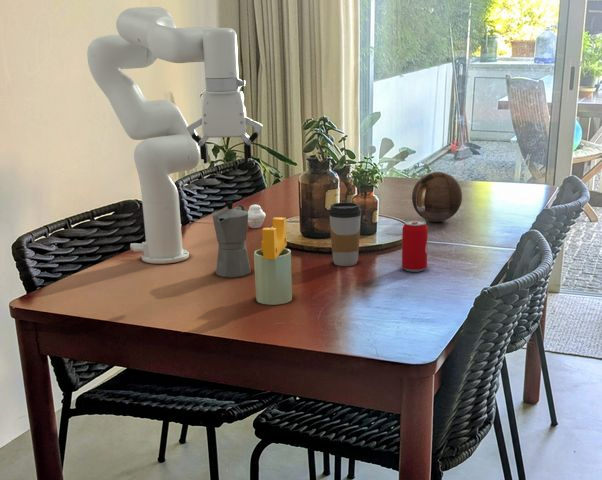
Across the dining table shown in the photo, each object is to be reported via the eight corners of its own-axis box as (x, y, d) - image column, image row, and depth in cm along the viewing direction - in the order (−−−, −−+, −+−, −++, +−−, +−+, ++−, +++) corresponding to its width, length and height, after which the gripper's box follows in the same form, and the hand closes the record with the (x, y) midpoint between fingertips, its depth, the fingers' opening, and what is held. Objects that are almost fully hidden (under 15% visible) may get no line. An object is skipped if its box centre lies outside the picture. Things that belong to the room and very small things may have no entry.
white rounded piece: (242, 228, 261) (241, 205, 258) (251, 224, 266) (249, 201, 264) (261, 229, 259) (260, 206, 256) (269, 225, 264) (268, 202, 261)
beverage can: (429, 266, 217) (430, 219, 213) (424, 273, 212) (425, 225, 208) (404, 265, 219) (405, 218, 215) (399, 271, 214) (399, 224, 210)
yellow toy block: (268, 244, 198) (267, 217, 196) (286, 245, 197) (285, 217, 195) (255, 258, 187) (254, 229, 185) (274, 259, 186) (273, 230, 184)
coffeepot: (241, 281, 210) (237, 207, 203) (205, 278, 212) (200, 206, 206) (263, 264, 223) (260, 195, 217) (229, 262, 226) (225, 193, 220)
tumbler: (254, 305, 192) (252, 257, 188) (257, 293, 200) (255, 247, 196) (291, 304, 192) (290, 256, 188) (292, 293, 200) (291, 247, 196)
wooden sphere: (446, 214, 273) (448, 166, 267) (470, 224, 259) (472, 173, 254) (403, 218, 268) (404, 170, 263) (424, 228, 255) (426, 177, 250)
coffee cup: (327, 259, 226) (326, 202, 221) (359, 258, 227) (359, 201, 221) (331, 268, 219) (330, 209, 213) (363, 266, 219) (363, 208, 214)
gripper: (261, 83, 199) (264, 158, 205) (186, 85, 199) (191, 160, 206) (259, 86, 192) (262, 164, 198) (181, 88, 192) (187, 165, 199)
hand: (226, 162), depth 202 cm, fingers open, 9 cm apart
